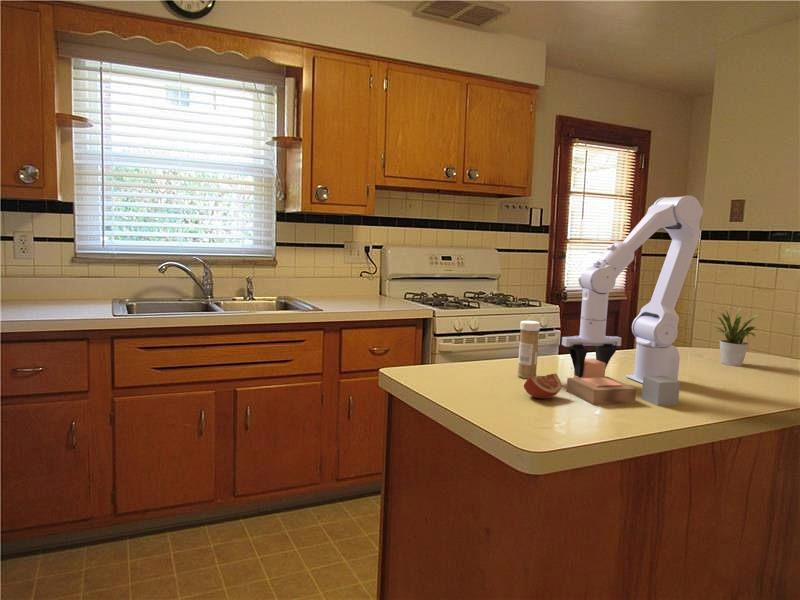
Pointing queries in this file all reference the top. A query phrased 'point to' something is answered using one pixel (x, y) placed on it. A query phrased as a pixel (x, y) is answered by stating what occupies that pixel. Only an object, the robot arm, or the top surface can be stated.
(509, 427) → the top surface
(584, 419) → the top surface
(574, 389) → the walnut plinth
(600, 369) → the terracotta cube
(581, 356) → the robot arm
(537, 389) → the fruit slice
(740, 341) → the house plant
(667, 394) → the slate cube
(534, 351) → the sprinkles bottle
